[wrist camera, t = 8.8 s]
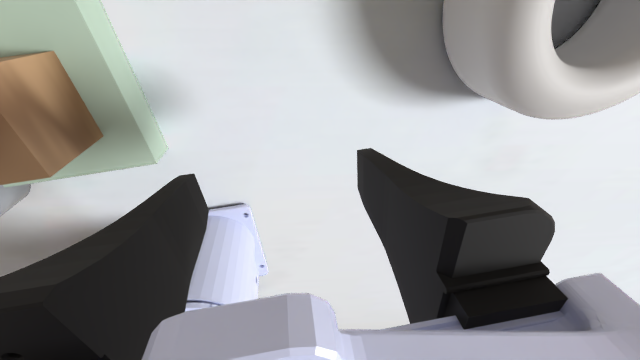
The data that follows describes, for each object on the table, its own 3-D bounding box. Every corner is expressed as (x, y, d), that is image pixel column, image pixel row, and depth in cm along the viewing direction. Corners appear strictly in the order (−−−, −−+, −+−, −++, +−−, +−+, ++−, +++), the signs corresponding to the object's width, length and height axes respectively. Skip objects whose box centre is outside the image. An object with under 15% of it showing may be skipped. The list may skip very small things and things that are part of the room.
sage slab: (170, 145, 21) (156, 163, 19) (37, 165, 21) (4, 187, 18) (100, -10, 16) (68, -12, 13) (-83, 12, 15) (-153, 14, 13)
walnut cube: (103, 136, 17) (50, 177, 13) (21, 148, 17) (-60, 194, 13) (53, 50, 15) (-34, 69, 11) (-46, 63, 14) (-176, 87, 10)
